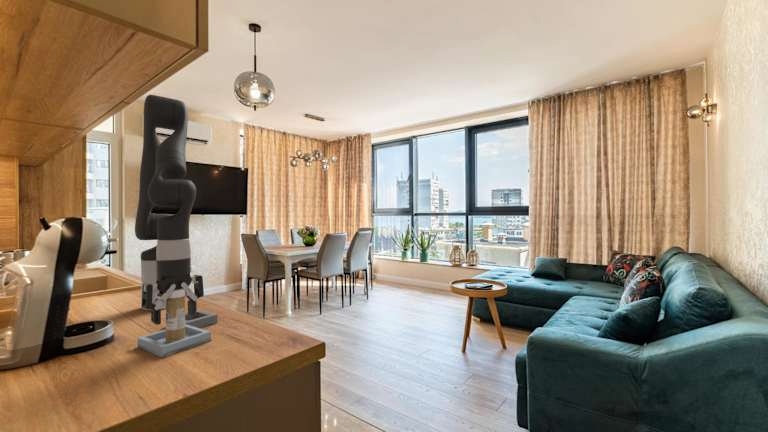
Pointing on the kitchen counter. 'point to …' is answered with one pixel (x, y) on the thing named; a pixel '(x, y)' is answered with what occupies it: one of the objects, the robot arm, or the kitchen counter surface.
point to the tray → (162, 348)
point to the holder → (200, 319)
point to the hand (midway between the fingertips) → (174, 319)
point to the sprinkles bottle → (175, 316)
